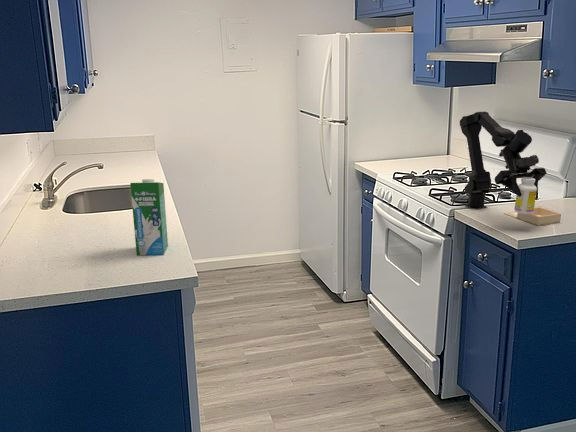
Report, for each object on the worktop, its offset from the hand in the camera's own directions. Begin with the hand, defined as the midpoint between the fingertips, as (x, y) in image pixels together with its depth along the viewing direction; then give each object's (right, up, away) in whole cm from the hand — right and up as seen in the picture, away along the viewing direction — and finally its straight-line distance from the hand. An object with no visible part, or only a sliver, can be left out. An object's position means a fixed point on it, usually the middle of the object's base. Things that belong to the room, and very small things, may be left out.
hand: (528, 195), depth 213 cm
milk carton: (-134, -20, -14) cm, 136 cm away
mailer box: (+9, -8, +18) cm, 22 cm away
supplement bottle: (-1, -6, +3) cm, 7 cm away
